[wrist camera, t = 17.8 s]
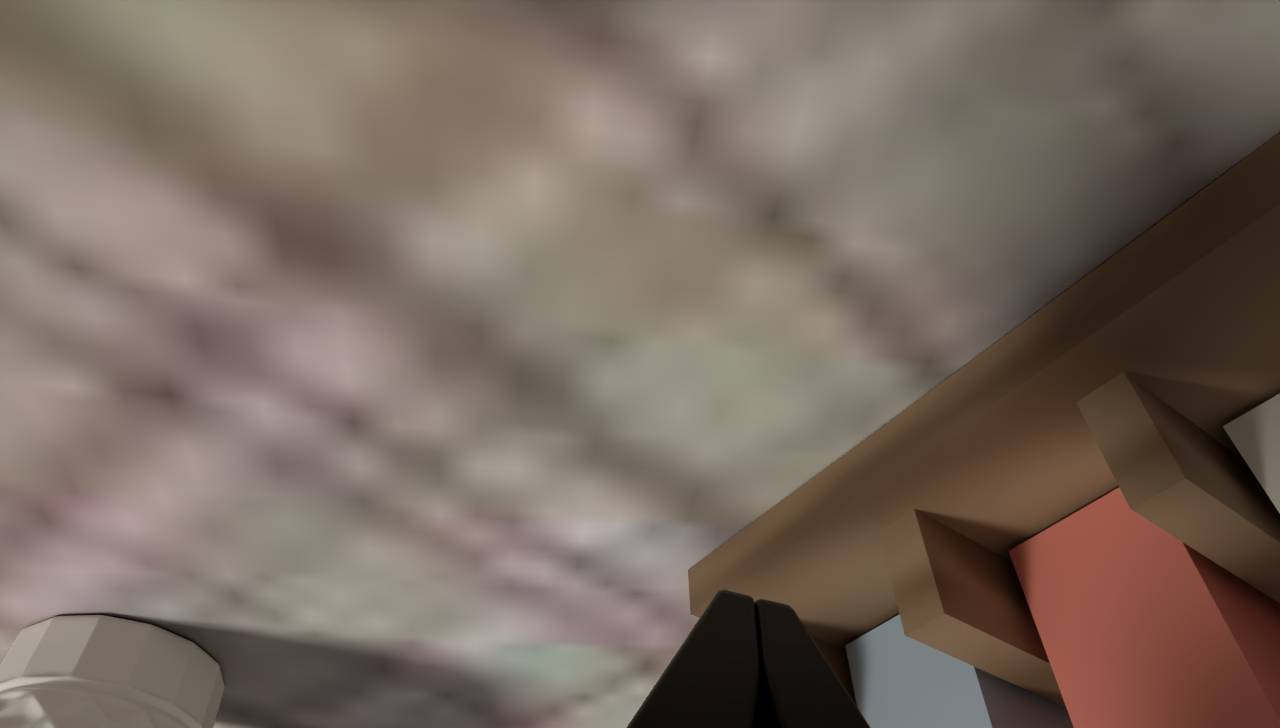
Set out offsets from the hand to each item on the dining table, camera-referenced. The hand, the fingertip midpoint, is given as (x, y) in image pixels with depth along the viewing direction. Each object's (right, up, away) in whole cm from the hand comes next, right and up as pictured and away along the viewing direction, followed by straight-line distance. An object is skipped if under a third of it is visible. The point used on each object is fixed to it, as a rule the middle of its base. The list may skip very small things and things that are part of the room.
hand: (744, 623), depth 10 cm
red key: (+12, -2, +14) cm, 18 cm away
